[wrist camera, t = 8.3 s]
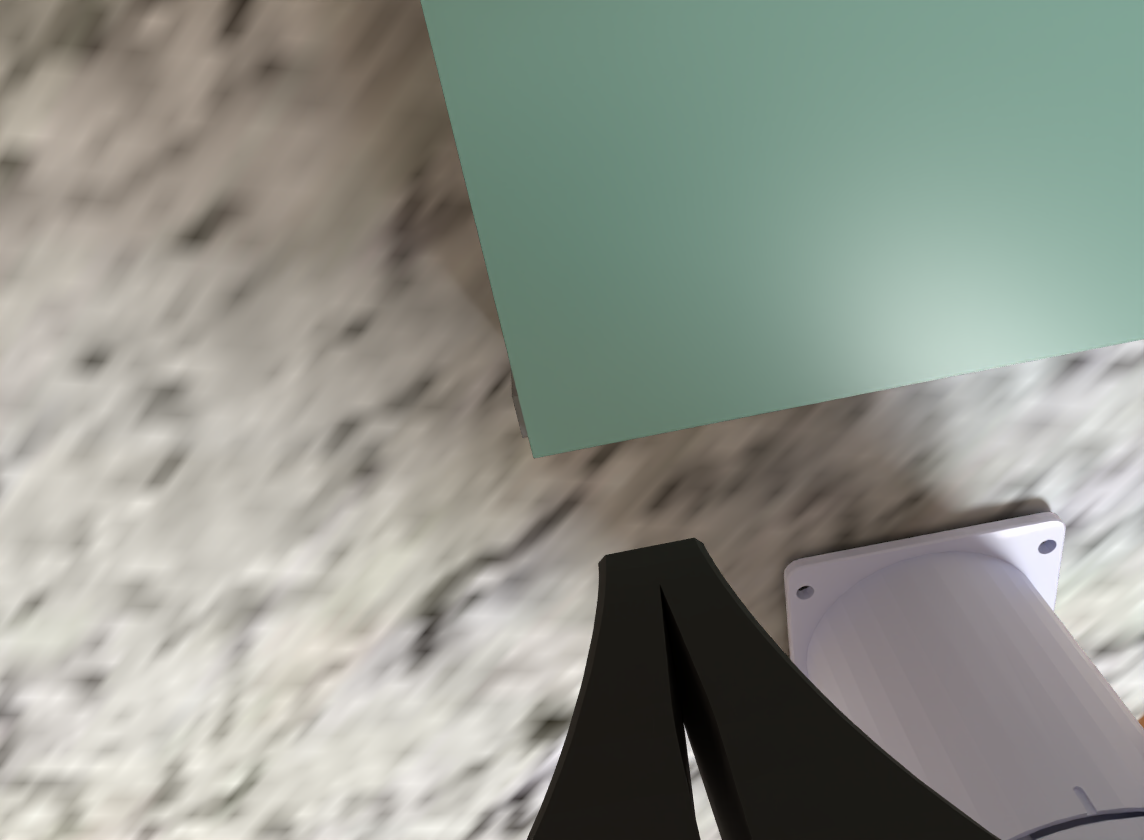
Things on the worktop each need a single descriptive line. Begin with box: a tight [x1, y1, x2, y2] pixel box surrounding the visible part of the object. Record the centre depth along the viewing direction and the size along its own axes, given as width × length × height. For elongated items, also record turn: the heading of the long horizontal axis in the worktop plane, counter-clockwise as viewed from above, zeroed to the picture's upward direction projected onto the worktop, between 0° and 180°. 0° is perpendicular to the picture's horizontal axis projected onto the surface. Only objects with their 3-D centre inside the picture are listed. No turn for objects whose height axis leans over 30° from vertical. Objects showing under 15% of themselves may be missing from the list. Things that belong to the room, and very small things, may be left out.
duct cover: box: [420, 0, 1144, 458], centre depth 15 cm, size 10×22×1 cm, turn 100°
